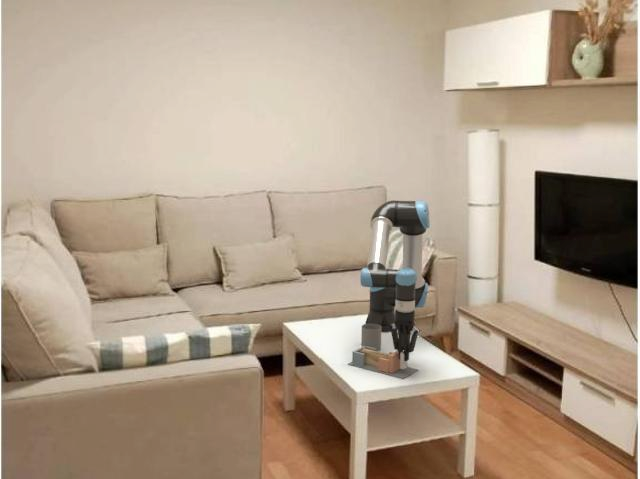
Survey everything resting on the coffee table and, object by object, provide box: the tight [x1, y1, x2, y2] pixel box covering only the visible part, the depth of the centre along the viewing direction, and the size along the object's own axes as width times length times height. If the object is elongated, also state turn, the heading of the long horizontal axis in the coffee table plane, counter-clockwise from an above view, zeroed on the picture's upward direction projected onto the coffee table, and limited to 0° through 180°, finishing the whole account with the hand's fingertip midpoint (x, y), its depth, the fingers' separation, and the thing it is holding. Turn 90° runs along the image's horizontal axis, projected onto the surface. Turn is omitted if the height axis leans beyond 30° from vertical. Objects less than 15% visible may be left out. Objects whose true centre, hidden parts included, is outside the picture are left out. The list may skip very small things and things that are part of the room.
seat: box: [347, 346, 420, 380], centre depth 295 cm, size 12×26×5 cm, turn 53°
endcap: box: [378, 350, 400, 373], centre depth 293 cm, size 9×6×7 cm, turn 143°
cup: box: [360, 323, 382, 352], centre depth 317 cm, size 8×8×10 cm
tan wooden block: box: [359, 349, 390, 368], centre depth 297 cm, size 4×15×5 cm, turn 54°
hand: (403, 367), depth 290 cm, fingers closed
